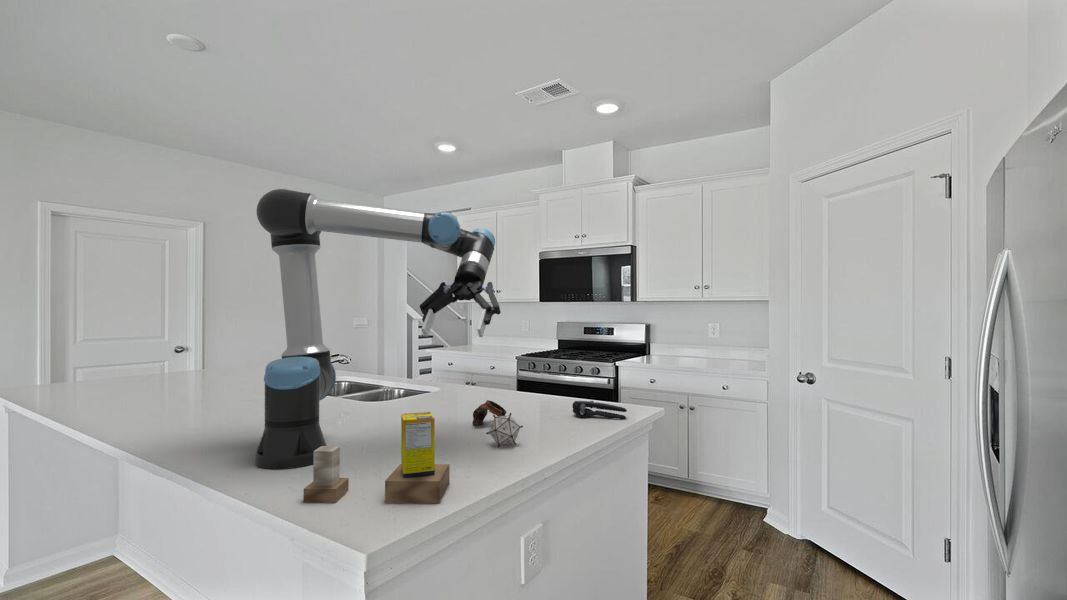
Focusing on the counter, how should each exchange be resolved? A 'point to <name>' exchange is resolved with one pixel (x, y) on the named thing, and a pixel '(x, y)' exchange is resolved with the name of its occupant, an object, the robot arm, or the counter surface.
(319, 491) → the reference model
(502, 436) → the game die
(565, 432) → the counter surface
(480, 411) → the brown curved piece
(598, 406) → the can opener
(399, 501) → the plinth
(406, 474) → the supplement box
